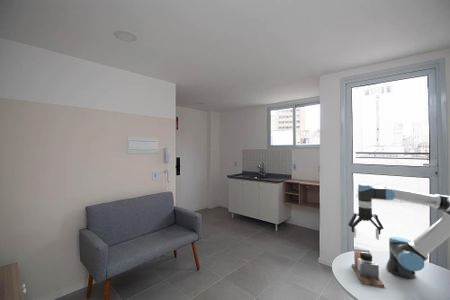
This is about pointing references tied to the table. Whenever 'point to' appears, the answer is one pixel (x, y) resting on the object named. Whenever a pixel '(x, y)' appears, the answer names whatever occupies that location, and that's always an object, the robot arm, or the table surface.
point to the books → (358, 255)
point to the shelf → (368, 279)
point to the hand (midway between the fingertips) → (365, 237)
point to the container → (364, 258)
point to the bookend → (369, 270)
